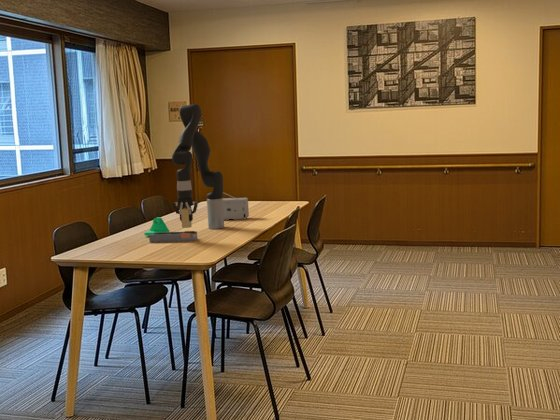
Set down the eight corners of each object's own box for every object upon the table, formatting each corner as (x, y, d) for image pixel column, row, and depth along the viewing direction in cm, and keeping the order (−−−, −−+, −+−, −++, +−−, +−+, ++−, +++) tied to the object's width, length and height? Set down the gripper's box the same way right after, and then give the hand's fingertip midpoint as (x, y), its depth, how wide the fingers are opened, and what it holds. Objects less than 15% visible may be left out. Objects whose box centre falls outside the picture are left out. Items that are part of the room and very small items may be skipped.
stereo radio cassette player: (249, 217, 428) (247, 186, 426) (247, 219, 420) (245, 188, 417) (216, 218, 430) (214, 187, 428) (214, 220, 422) (212, 189, 420)
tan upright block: (184, 226, 359) (183, 207, 358) (191, 226, 359) (190, 206, 357) (182, 227, 355) (180, 208, 354) (189, 227, 355) (188, 207, 353)
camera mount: (143, 237, 375) (142, 219, 374) (151, 234, 382) (149, 216, 381) (162, 237, 371) (161, 219, 370) (169, 235, 378) (168, 217, 377)
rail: (154, 239, 365) (154, 231, 365) (197, 238, 361) (196, 230, 361) (149, 242, 357) (148, 234, 357) (193, 241, 353) (192, 233, 353)
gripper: (199, 188, 357) (201, 220, 359) (173, 188, 359) (175, 220, 361) (195, 189, 350) (197, 222, 352) (169, 190, 352) (171, 222, 354)
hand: (186, 221), depth 357 cm, fingers closed on tan upright block, 4 cm apart
